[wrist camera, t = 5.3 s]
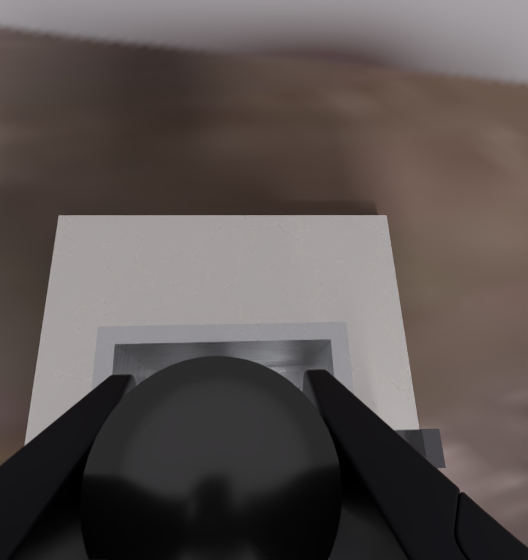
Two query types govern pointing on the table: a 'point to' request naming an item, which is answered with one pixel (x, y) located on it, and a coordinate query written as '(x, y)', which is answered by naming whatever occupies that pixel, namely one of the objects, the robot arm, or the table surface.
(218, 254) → the white socket holder tray
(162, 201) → the table surface
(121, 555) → the plunger
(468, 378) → the table surface
